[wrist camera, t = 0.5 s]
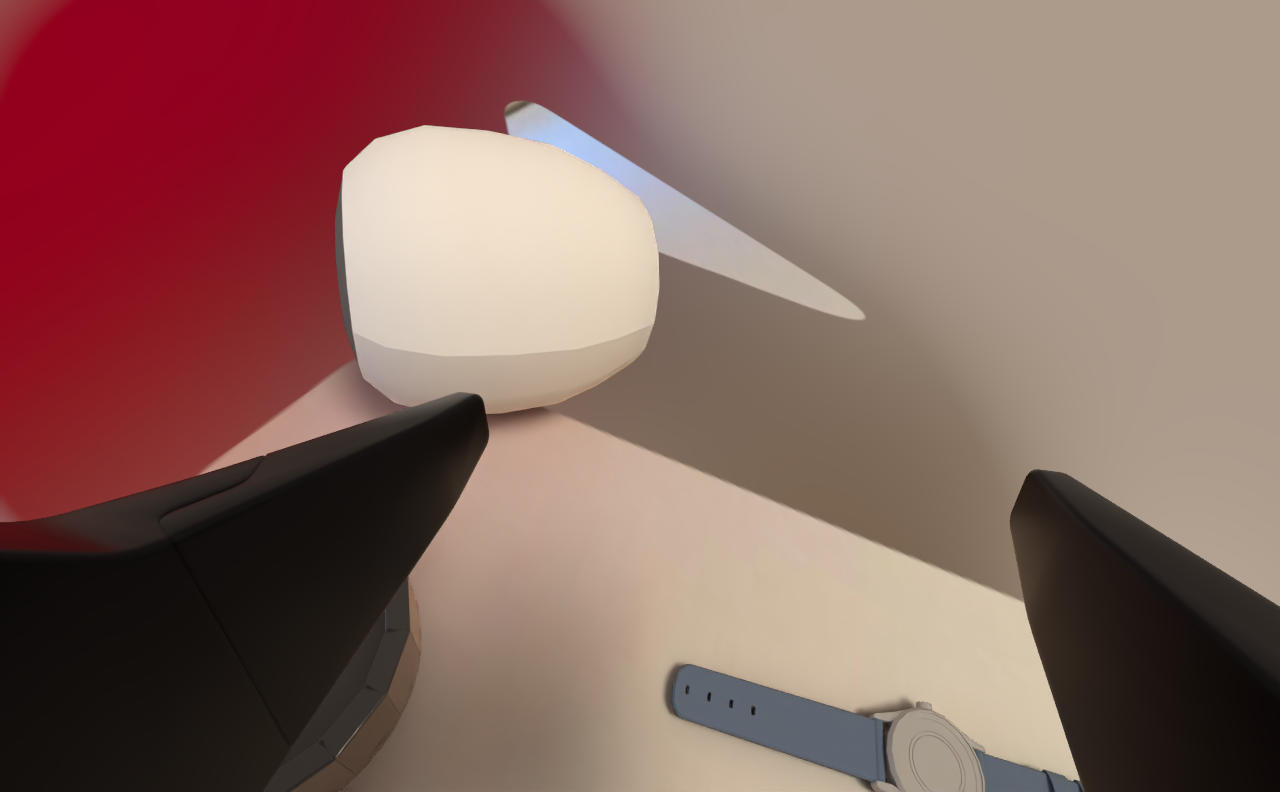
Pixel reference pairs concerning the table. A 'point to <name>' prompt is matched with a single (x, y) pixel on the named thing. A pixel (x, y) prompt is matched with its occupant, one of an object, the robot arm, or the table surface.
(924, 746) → the wristwatch
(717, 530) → the table surface
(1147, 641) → the robot arm
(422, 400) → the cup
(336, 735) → the holder
